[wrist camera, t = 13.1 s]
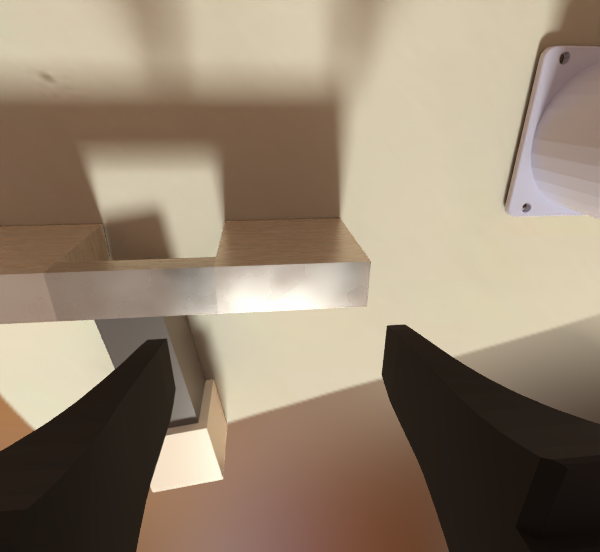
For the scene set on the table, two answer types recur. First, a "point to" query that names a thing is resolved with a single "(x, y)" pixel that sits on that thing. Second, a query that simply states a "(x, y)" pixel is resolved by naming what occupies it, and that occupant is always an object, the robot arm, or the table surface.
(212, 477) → the plug
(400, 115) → the table surface
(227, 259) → the grey bridge block
